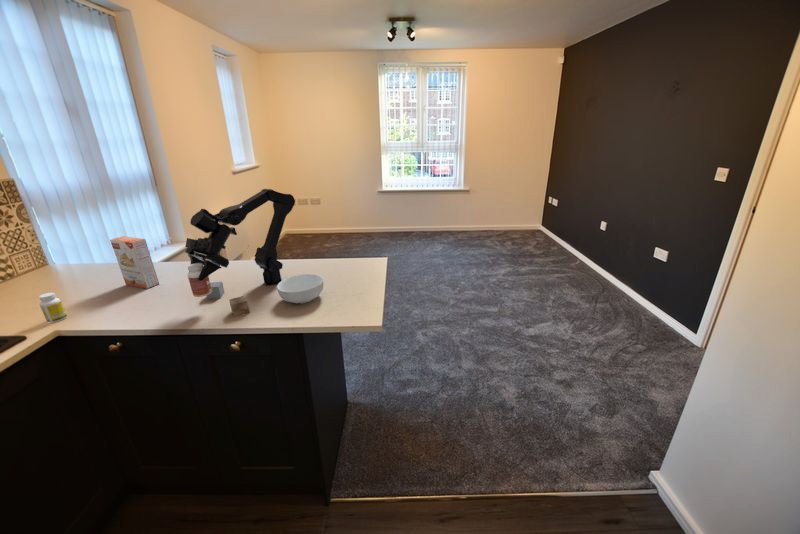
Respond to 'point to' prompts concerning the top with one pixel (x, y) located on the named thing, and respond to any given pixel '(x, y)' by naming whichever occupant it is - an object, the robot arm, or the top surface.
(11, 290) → the top surface
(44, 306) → the supplement bottle
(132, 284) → the cracker box
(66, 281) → the top surface
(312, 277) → the cereal bowl
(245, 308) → the walnut cube
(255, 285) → the top surface
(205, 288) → the pill bottle
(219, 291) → the slate-grey cube
